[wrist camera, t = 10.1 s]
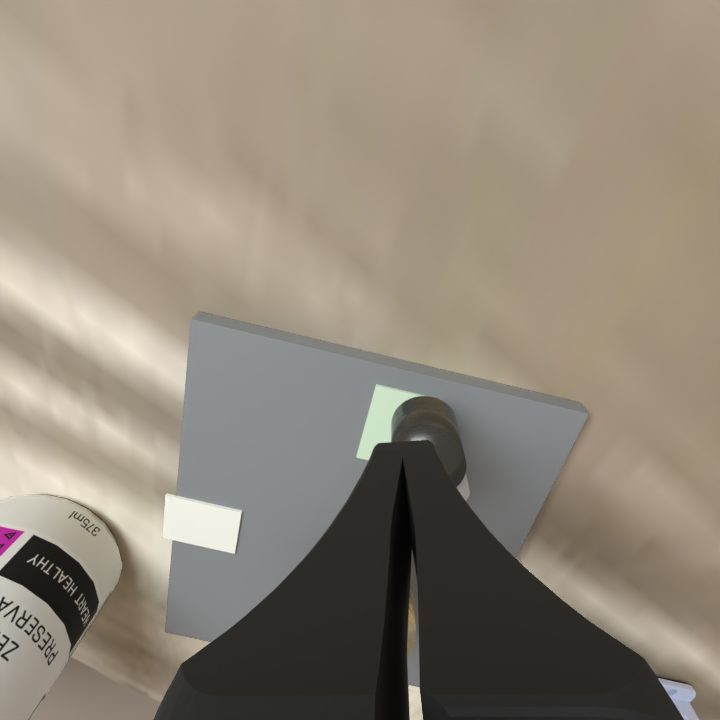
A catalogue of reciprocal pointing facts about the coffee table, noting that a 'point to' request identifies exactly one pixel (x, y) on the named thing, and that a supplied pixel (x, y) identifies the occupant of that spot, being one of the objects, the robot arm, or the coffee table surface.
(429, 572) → the robot arm
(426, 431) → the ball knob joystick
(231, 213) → the coffee table surface
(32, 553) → the supplement can
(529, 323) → the coffee table surface
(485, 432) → the plate
